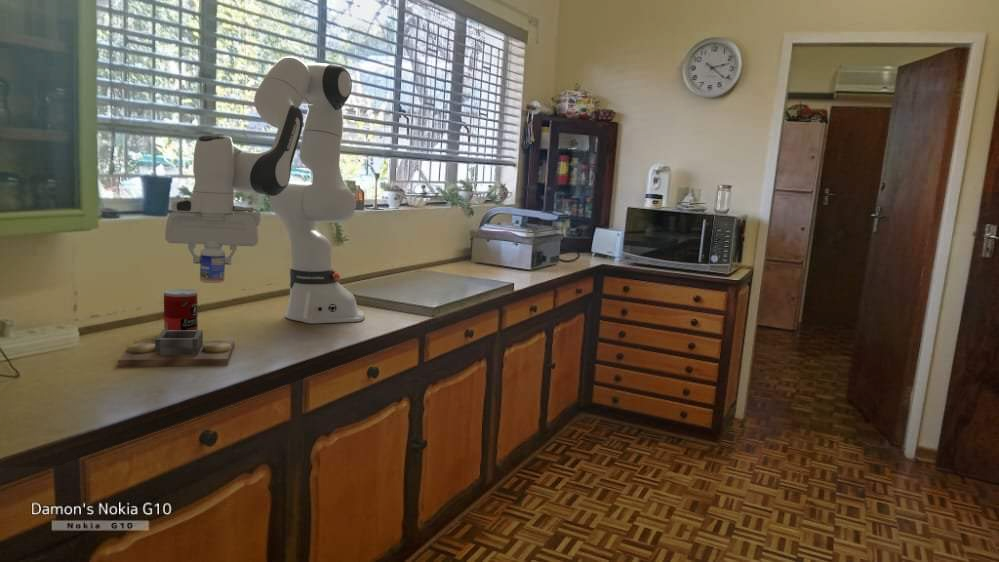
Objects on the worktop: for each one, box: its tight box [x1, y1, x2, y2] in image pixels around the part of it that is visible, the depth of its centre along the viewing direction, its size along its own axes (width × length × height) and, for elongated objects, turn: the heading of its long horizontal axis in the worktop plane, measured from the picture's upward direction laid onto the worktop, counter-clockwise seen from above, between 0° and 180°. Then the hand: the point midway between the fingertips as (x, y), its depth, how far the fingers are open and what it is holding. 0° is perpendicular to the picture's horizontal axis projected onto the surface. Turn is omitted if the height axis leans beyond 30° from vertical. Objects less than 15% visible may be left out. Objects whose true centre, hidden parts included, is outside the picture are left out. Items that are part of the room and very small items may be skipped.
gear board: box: [117, 329, 236, 368], centre depth 164 cm, size 22×16×5 cm
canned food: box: [163, 288, 199, 330], centre depth 182 cm, size 8×8×11 cm
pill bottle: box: [199, 241, 226, 284], centre depth 169 cm, size 5×5×10 cm
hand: (212, 263), depth 169 cm, fingers closed on pill bottle, 5 cm apart
